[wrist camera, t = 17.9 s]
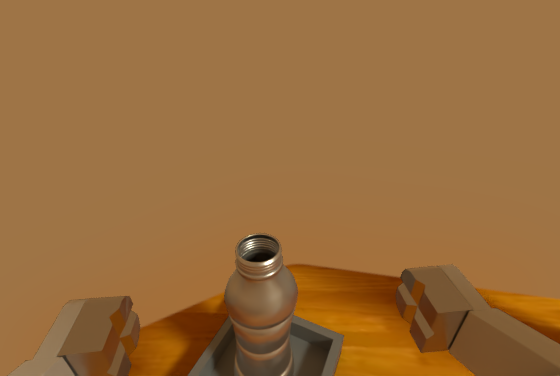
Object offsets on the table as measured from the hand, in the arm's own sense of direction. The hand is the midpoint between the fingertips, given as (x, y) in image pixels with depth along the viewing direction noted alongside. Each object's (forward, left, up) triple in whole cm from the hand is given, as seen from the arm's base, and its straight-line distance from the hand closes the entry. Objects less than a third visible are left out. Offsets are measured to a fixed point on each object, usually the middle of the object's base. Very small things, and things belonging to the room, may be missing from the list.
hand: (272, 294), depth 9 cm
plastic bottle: (+7, -10, -29) cm, 32 cm away
